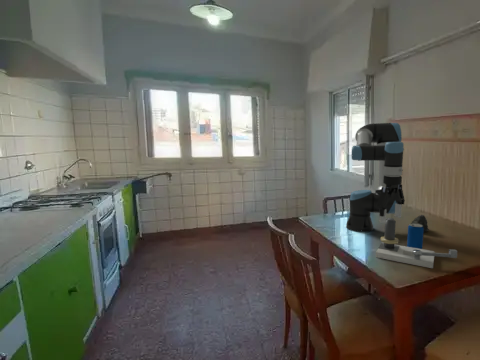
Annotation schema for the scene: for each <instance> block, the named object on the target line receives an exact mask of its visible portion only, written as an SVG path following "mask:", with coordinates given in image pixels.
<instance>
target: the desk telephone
mask: <svg viewBox="0 0 480 360" xmlns="http://www.w3.org/2000/svg"><path fill="white" fill-rule="evenodd" d="M413 250H420V251H422V252H432V253H436V251H434V250H429V249H424V248H422V249H418V248H412V247H407V245H406V246H405V245H400V244H399V245H398V244H394V248H393V249H389V248H385V247H384V242H381V243H380V245H379V246H378V248H377V250H376V251H375V258H378V259H385V260H388V261H393V262H398V263H404V264H409V265H414V266H418V267H424V268H430V269H434V263H435V256H424V255H422V256H415V255H413Z"/></svg>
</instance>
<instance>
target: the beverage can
mask: <svg viewBox="0 0 480 360" xmlns="http://www.w3.org/2000/svg"><path fill="white" fill-rule="evenodd" d="M423 230H424V228H423V225H421V224H415V223H412V222H410V223H409V224H408V226H407V242H406V247H412V248H418V249H423V246H424V245H423V243H424V232H423Z"/></svg>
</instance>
